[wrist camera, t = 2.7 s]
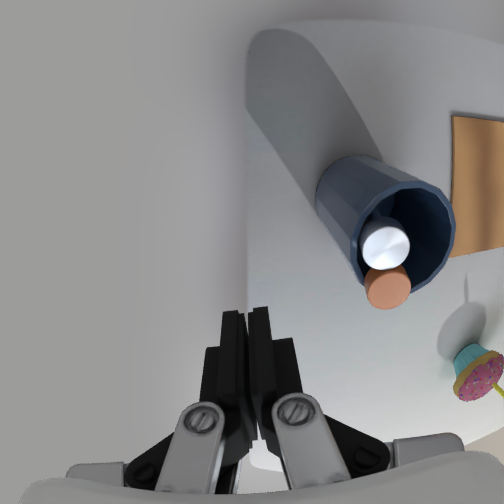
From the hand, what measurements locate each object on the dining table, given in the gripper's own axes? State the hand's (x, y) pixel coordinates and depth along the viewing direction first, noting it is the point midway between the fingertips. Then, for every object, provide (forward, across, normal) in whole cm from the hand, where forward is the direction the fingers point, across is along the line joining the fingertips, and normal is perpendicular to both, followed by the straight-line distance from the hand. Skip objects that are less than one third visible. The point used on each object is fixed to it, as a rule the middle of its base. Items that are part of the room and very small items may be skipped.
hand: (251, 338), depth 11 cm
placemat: (+14, -39, 0) cm, 42 cm away
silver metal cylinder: (+14, -9, -2) cm, 16 cm away
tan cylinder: (+14, -9, +1) cm, 16 cm away
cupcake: (+15, -28, +24) cm, 40 cm away
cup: (+14, -9, 0) cm, 17 cm away
